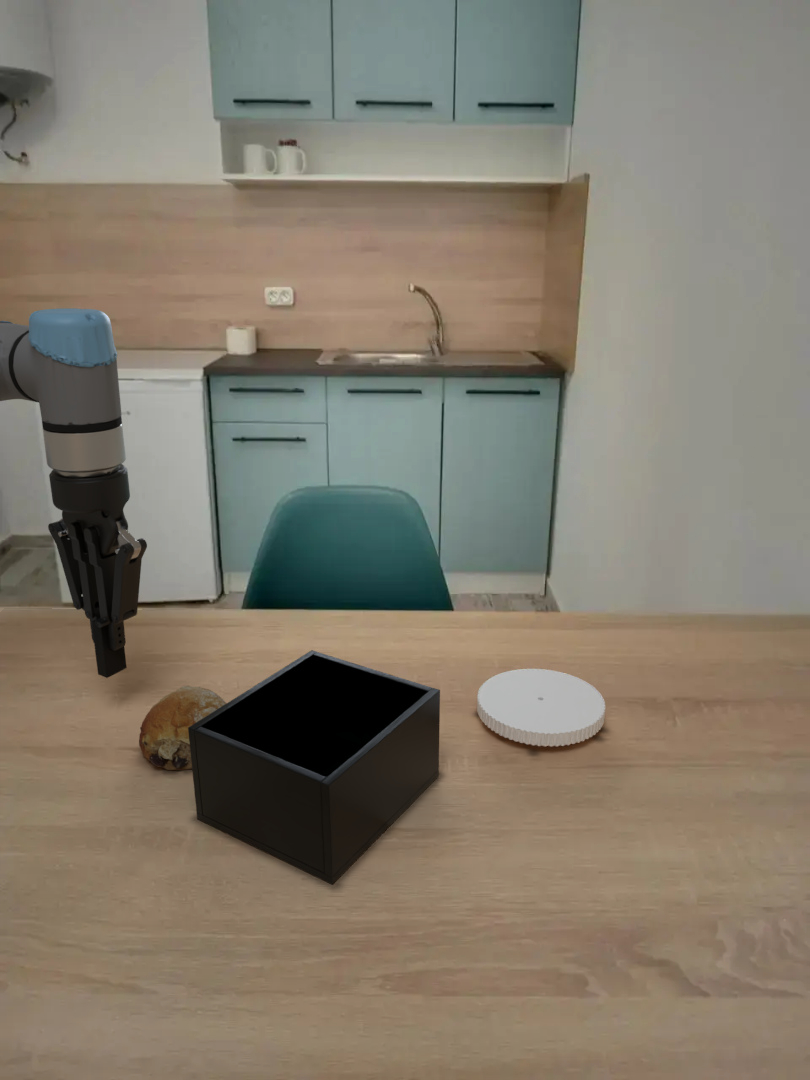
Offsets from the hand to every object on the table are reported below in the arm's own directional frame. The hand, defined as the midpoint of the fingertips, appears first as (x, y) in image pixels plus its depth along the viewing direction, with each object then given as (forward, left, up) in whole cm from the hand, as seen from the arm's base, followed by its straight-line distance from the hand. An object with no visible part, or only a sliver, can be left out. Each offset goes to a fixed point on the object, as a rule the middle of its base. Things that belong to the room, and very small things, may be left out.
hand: (112, 670), depth 93 cm
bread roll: (+12, -1, -5) cm, 13 cm away
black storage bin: (+29, 0, -5) cm, 30 cm away
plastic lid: (+41, +24, -5) cm, 48 cm away
